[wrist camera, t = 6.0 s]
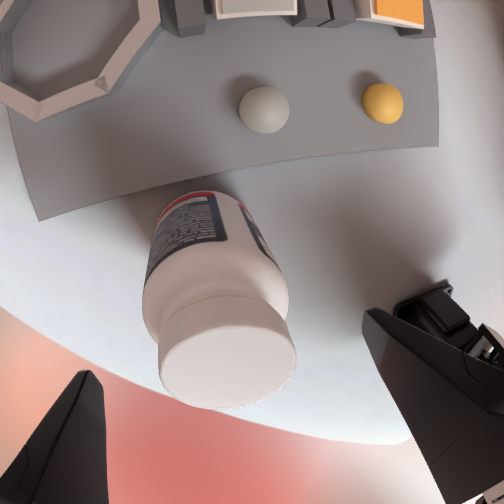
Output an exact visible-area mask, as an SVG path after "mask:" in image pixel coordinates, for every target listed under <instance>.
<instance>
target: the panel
mask: <svg viewBox="0 0 504 504" xmlns="http://www.w3.org/2000/svg"><path fill="white" fill-rule="evenodd" d="M2 2H3V0H1V3H2ZM422 2H423V17H424V29H416V28H405V27H399V26H394V25H388V24H383V23H377V22H371V21H364V20H356V16H355V11H354V6H353V0H297V15H265V16H247V17H235V18H225V19H215V18H212V11H211V2H210V0H160V6H161V13H162V21H163V28H164V31H163V32H162V33H161V34H160V36H159V37H158V38H157V39H156V41H155V42H154V43H153V44H152V46H151V47H150V48H149V50H148V51H147V52H146V54H145V55H144V56H143V58H142V59H141V60H140V62H139V63H138V64H137V66H136V67H135V69H134V70H133V71H132V73H131V74H130V76H129V77H128V79H127V80H126V82H125V83H124V85H123V86H122V88H121V89H120V91H119V92H118V94H116V95H113V96H110V97H107V98H104V99H101V100H98V101H95V102H92V103H89V104H86V105H84V106H81V107H78V108H76V109H73V110H71V111H68V112H66V113H63V114H61V115H59V116H56V117H54V118H52V119H48V120H43V121H39V122H35V121H33V120H32V119H30V118H28V117H26V116H25V115H23V114H21V113H19V112H18V111H16V110H14V109H12V108H11V107H9V106H7V109H8V115H9V120H10V125H11V130H12V135H13V139H14V143H15V147H16V151H17V155H18V159H19V163H20V167H21V170H22V174H23V177H24V180H25V183H26V187H27V190H28V193H29V196H30V199H31V202H32V205H33V207H34V210H35V213H36V216H37V218H38V221H39V222H40V221H43V220H46V219H49V218H52V217H55V216H58V215H61V214H64V213H67V212H70V211H73V210H76V209H79V208H82V207H86V206H89V205H92V204H96V203H99V202H102V201H106V200H109V199H113V198H116V197H120V196H124V195H127V194H131V193H135V192H139V191H142V190H146V189H150V188H154V187H158V186H162V185H166V184H171V183H175V182H179V181H184V180H188V179H192V178H197V177H202V176H206V175H211V174H216V173H221V172H226V171H231V170H237V169H242V168H247V167H253V166H259V165H265V164H271V163H277V162H283V161H290V160H297V159H304V158H311V157H318V156H326V155H335V154H343V153H353V152H363V151H374V150H386V149H400V148H416V147H439V102H438V83H437V70H436V60H435V51H434V43H433V38H435V37H436V33H435V26H434V21H433V15H432V10H431V5H430V1H429V0H422ZM139 20H140V17H139V8H138V0H33V1H32V3H31V4H30V6H29V7H28V9H27V10H26V12H25V13H24V15H23V16H22V18H21V19H20V21H19V23H18V24H17V26H16V27H15V29H14V31H13V32H12V47H13V61H14V71H15V80H16V81H17V82H19V83H21V84H23V85H25V86H27V87H29V88H31V89H32V90H34V91H36V92H38V93H40V94H42V95H43V96H45V97H47V98H49V97H51V96H54V95H56V94H58V93H60V92H63V91H65V90H68V89H70V88H72V87H75V86H77V85H80V84H83V83H85V82H88V81H91V80H93V79H96V78H98V77H99V75H100V74H101V72H102V70H103V69H104V67H105V66H106V64H107V63H108V61H109V60H110V59H111V57H112V56H113V54H114V53H115V51H116V50H117V49H118V47H119V46H120V44H121V43H122V42H123V40H124V39H125V38H126V36H127V35H128V34H129V33H130V31H131V30H132V29H133V27H134V26H135V25H136V24H137V23H138V21H139Z"/></svg>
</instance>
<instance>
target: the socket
mask: <svg viewBox="0 0 504 504" xmlns="http://www.w3.org/2000/svg"><path fill="white" fill-rule="evenodd" d="M32 1H33V0H3V2H2V3H1V5H0V102H2V103H4V104H5V105H7V106H9V107H11V108H12V109H14V110H16V111H18V112H19V113H21V114H23V115H25V116H26V117H28V118H30V119H32V120H33V121H35V122H39V121H43V120H48V119H52V118H54V117H56V116H59V115H61V114H63V113H66V112H68V111H71V110H73V109H76V108H78V107H81V106H84V105H86V104H89V103H92V102H95V101H98V100H101V99H104V98H107V97H110V96H113V95H116V94H118V92H119V91H120V89H121V88H122V86H123V85H124V83H125V82H126V80H127V79H128V77H129V76H130V74H131V73H132V71H133V70H134V69H135V67H136V66H137V64H138V63H139V62H140V60H141V59H142V58H143V56H144V55H145V54H146V52H147V51H148V50H149V48H150V47H151V46H152V44H153V43H154V42H155V41H156V39H157V38H158V37H159V36H160V34H161V33H162V32H163V31H164V28H163V21H162V13H161V6H160V0H138V8H139V17H140V20H139V21H138V23H137V24H136V25H135V26H134V27H133V29H132V30H131V31H130V33H129V34H128V35H127V36H126V38H125V39H124V40H123V42H122V43H121V44H120V46H119V47H118V49H117V50H116V51H115V53H114V54H113V56H112V57H111V59H110V60H109V61H108V63H107V64H106V66H105V67H104V69H103V70H102V72H101V74H100V75H99V77H98V78H96V79H93V80H91V81H88V82H85V83H83V84H80V85H77V86H75V87H72V88H70V89H68V90H65V91H63V92H60V93H58V94H56V95H54V96H51V97H49V98H47V97H45V96H43V95H42V94H40V93H38V92H36V91H34V90H32V89H31V88H29V87H27V86H25V85H23V84H21V83H19V82H17V81H16V80H15V71H14V61H13V47H12V32H13V31H14V29H15V27H16V26H17V24H18V23H19V21H20V19H21V18H22V16H23V15H24V13H25V12H26V10H27V9H28V7H29V6H30V4H31V3H32Z"/></svg>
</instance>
